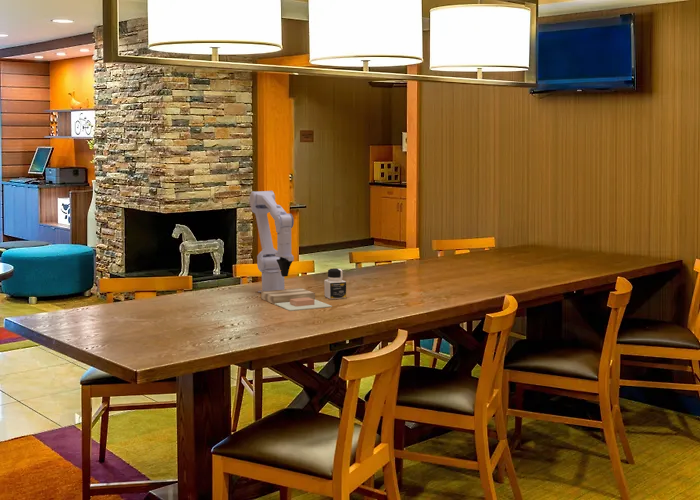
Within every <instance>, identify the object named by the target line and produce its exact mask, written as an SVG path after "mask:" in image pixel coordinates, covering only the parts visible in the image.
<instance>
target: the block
mask: <svg viewBox="0 0 700 500" xmlns="http://www.w3.org/2000/svg"><path fill="white" fill-rule="evenodd" d="M290 304H291V305H294V306H306V305H314V299H311V298H309V297H306V298H295V299H290Z"/></svg>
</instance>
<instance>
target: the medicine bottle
mask: <svg viewBox="0 0 700 500" xmlns="http://www.w3.org/2000/svg"><path fill="white" fill-rule="evenodd" d="M323 283H324V297H325V298H326V299H329V300H337V299H338V300H339V299H346V298H347V281H346V280H343V270H342V269H341V268H334V267H333V268H330V269H328V270H327V279H324V282H323Z"/></svg>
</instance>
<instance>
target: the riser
mask: <svg viewBox="0 0 700 500" xmlns="http://www.w3.org/2000/svg"><path fill="white" fill-rule="evenodd" d="M260 291H261V290H260ZM306 297H309V298H311V299H314V300H316V292H313V291H310V290H308V289H304V288H302V287H297V288H296V287H295V288H284V289H283V290H272V291H261V293H260V299H261V300H263V301H266V302H268V303H271V304H273V305H275V304H274V303H283V302H290V299H295V298H306Z"/></svg>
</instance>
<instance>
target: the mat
mask: <svg viewBox="0 0 700 500" xmlns="http://www.w3.org/2000/svg"><path fill="white" fill-rule="evenodd" d="M273 305H275V306H278V307H280V308H282V309H285V310H286V311H289V312H296V311H303V310H313V309H316V310H317V309H323V308H332V307H333V305H330V304H328V303H326V302H324V301H323V302H322V301H320V300H318V299H315V300H314V305H306V306H294V305H291V304H290V302H283V303H274V304H273Z"/></svg>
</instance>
